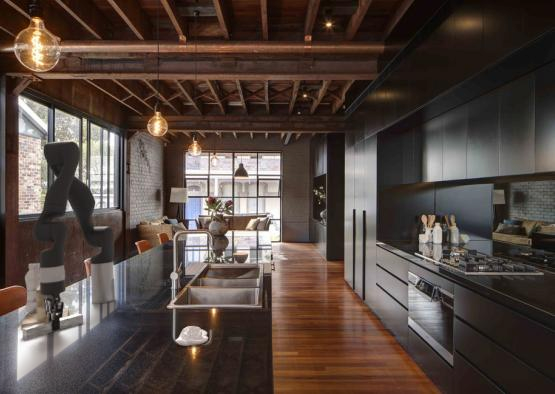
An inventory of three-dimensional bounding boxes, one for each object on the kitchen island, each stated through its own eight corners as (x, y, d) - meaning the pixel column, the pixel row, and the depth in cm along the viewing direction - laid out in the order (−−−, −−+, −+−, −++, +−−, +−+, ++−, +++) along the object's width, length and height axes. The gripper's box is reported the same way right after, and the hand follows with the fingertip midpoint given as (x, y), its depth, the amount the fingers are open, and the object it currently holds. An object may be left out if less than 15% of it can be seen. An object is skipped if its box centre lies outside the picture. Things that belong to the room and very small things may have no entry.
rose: (192, 319, 118) (215, 323, 113) (193, 333, 118) (215, 338, 113) (168, 329, 109) (191, 334, 104) (168, 344, 109) (191, 350, 104)
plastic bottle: (36, 315, 145) (34, 265, 145) (21, 315, 146) (20, 265, 146) (49, 310, 151) (47, 262, 151) (35, 310, 152) (33, 262, 152)
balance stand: (68, 311, 148) (67, 276, 148) (67, 321, 135) (65, 282, 135) (27, 318, 141) (26, 280, 141) (21, 328, 129) (20, 287, 129)
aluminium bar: (79, 321, 135) (79, 313, 135) (83, 322, 133) (82, 314, 133) (22, 337, 120) (22, 328, 120) (26, 339, 118) (25, 329, 118)
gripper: (71, 279, 125) (73, 330, 125) (57, 275, 134) (59, 322, 134) (46, 283, 119) (48, 336, 119) (34, 279, 129) (35, 328, 128)
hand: (54, 328), depth 126 cm, fingers closed on aluminium bar, 3 cm apart
